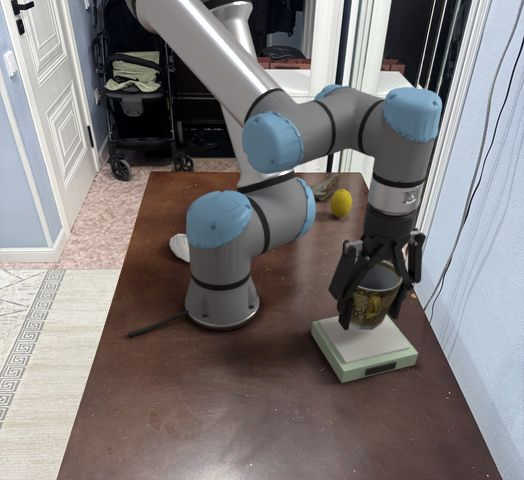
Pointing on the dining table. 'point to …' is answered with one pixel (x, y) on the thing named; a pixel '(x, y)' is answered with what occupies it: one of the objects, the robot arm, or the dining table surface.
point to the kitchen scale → (363, 348)
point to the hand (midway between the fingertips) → (367, 320)
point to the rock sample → (325, 187)
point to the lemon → (341, 203)
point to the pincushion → (180, 246)
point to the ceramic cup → (374, 296)
